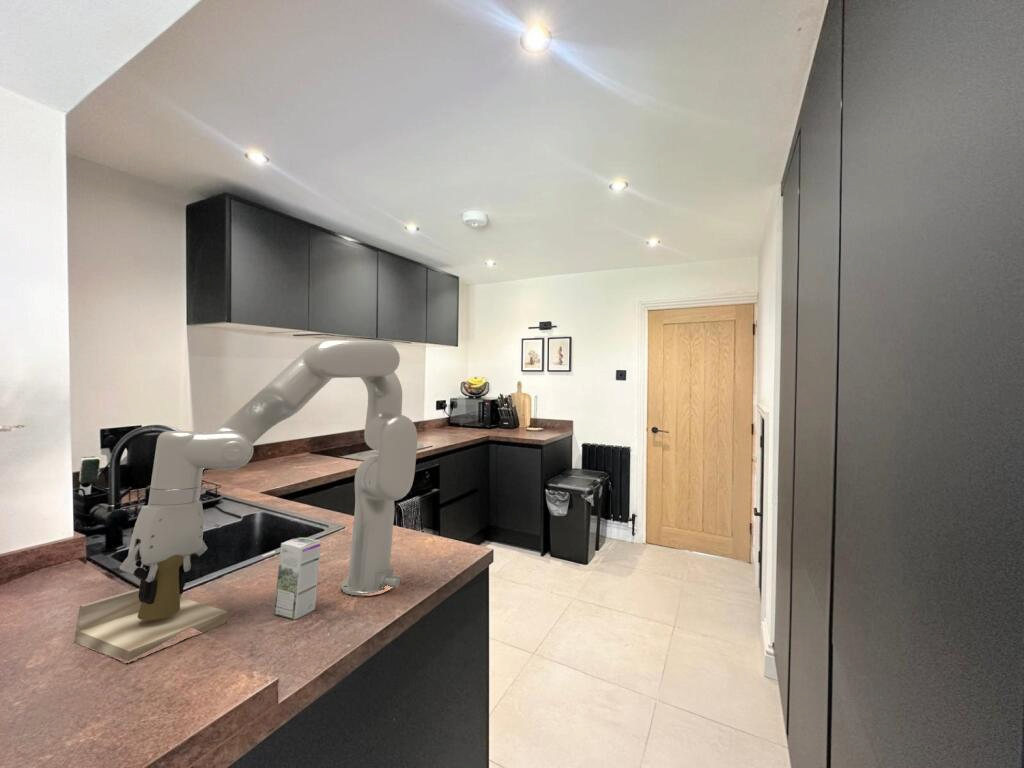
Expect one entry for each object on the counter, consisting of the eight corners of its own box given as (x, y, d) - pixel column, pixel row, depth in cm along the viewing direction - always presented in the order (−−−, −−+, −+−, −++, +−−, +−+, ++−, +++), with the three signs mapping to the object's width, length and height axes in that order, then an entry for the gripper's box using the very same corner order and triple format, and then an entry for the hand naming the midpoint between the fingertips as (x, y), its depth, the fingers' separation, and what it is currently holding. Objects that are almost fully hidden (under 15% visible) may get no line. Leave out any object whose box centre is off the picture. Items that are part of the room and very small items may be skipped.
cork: (155, 622, 73) (164, 557, 74) (128, 617, 74) (137, 553, 75) (188, 608, 79) (196, 548, 80) (162, 603, 80) (170, 544, 81)
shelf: (226, 622, 81) (230, 590, 81) (127, 664, 66) (133, 624, 66) (176, 606, 86) (180, 576, 86) (74, 642, 71) (79, 605, 72)
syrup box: (316, 609, 88) (323, 539, 90) (293, 621, 83) (301, 546, 84) (295, 604, 90) (302, 535, 91) (271, 615, 84) (280, 542, 86)
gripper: (207, 489, 87) (195, 579, 86) (107, 500, 72) (91, 611, 70) (232, 493, 85) (220, 586, 83) (134, 506, 69) (117, 621, 67)
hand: (161, 596), depth 76 cm, fingers closed on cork, 4 cm apart
